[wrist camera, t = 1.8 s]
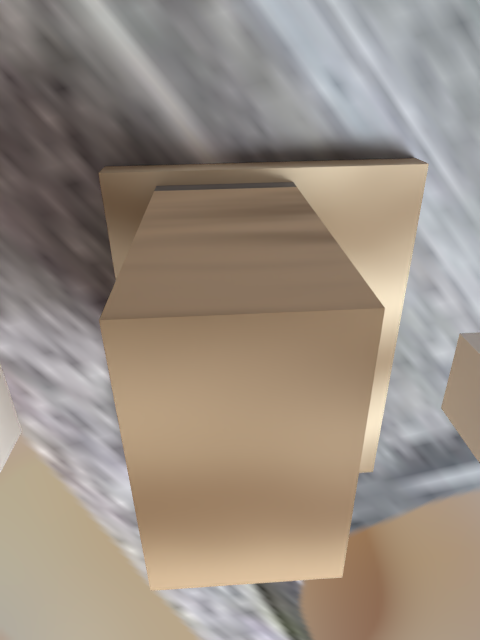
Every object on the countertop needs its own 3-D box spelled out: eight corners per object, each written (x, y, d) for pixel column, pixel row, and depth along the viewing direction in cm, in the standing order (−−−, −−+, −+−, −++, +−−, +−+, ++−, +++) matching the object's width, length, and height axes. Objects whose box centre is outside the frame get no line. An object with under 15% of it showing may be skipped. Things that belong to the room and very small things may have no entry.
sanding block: (156, 185, 17) (98, 320, 8) (293, 181, 17) (385, 308, 8) (175, 366, 20) (150, 590, 12) (285, 361, 21) (341, 577, 12)
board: (104, 166, 17) (98, 173, 16) (415, 158, 18) (428, 163, 17) (151, 467, 25) (148, 485, 24) (366, 455, 26) (372, 471, 25)
